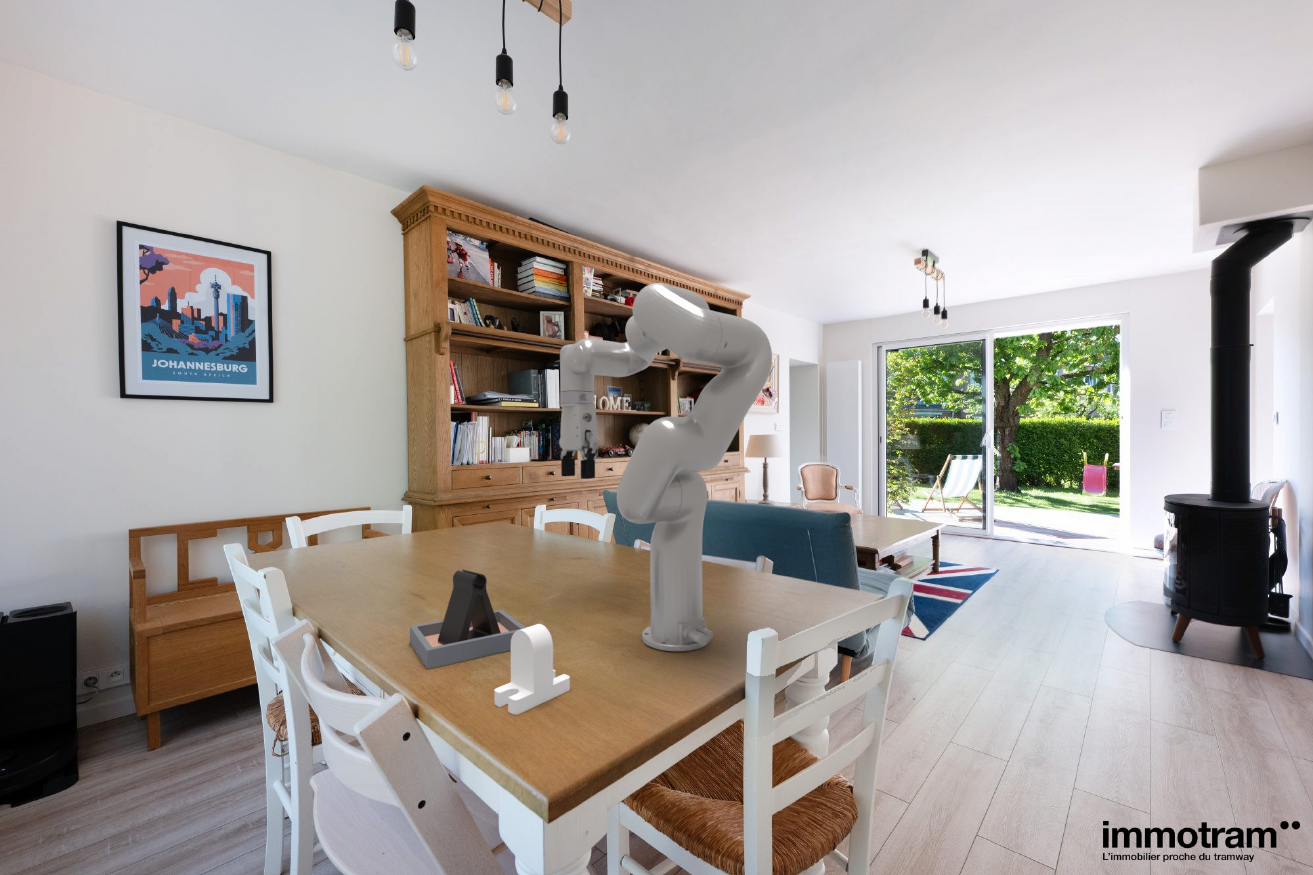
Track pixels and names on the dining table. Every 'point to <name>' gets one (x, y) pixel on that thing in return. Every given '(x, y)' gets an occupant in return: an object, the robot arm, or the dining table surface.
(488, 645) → the grey tray
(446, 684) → the dining table surface
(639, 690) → the dining table surface
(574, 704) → the dining table surface
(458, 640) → the phone stand
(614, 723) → the dining table surface
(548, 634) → the cable organizer
